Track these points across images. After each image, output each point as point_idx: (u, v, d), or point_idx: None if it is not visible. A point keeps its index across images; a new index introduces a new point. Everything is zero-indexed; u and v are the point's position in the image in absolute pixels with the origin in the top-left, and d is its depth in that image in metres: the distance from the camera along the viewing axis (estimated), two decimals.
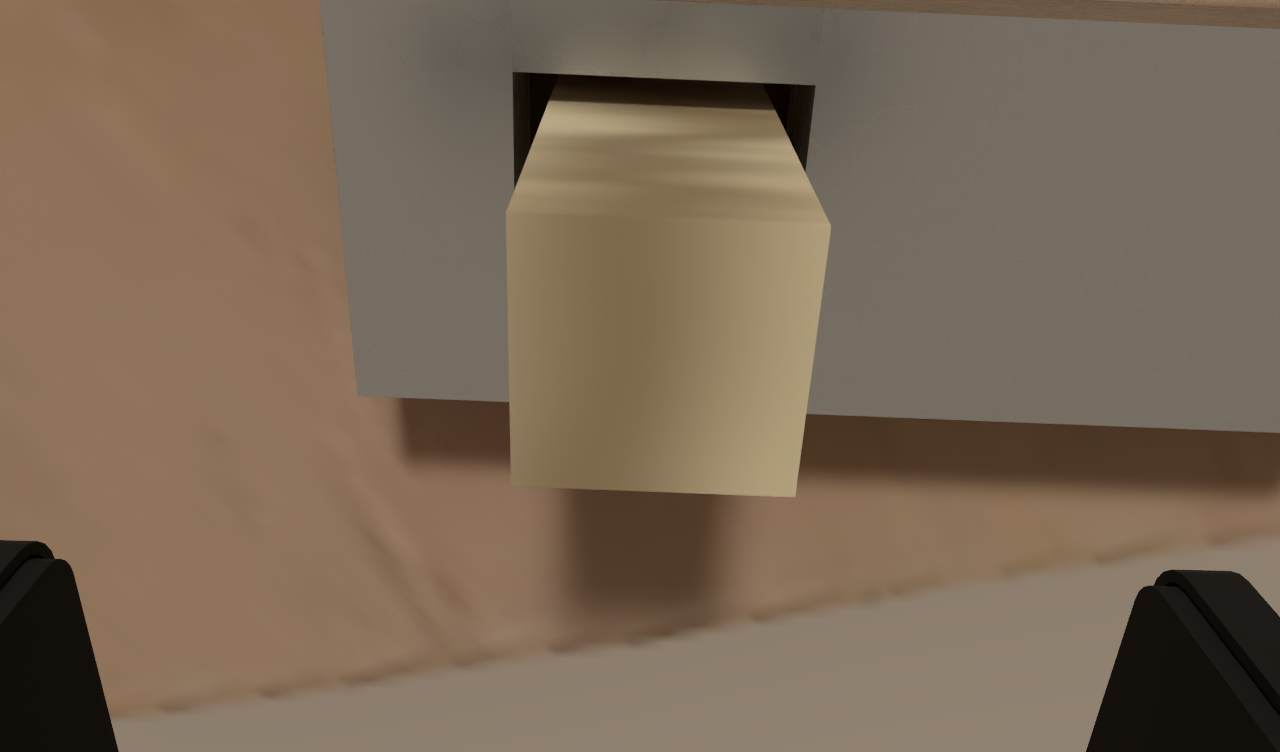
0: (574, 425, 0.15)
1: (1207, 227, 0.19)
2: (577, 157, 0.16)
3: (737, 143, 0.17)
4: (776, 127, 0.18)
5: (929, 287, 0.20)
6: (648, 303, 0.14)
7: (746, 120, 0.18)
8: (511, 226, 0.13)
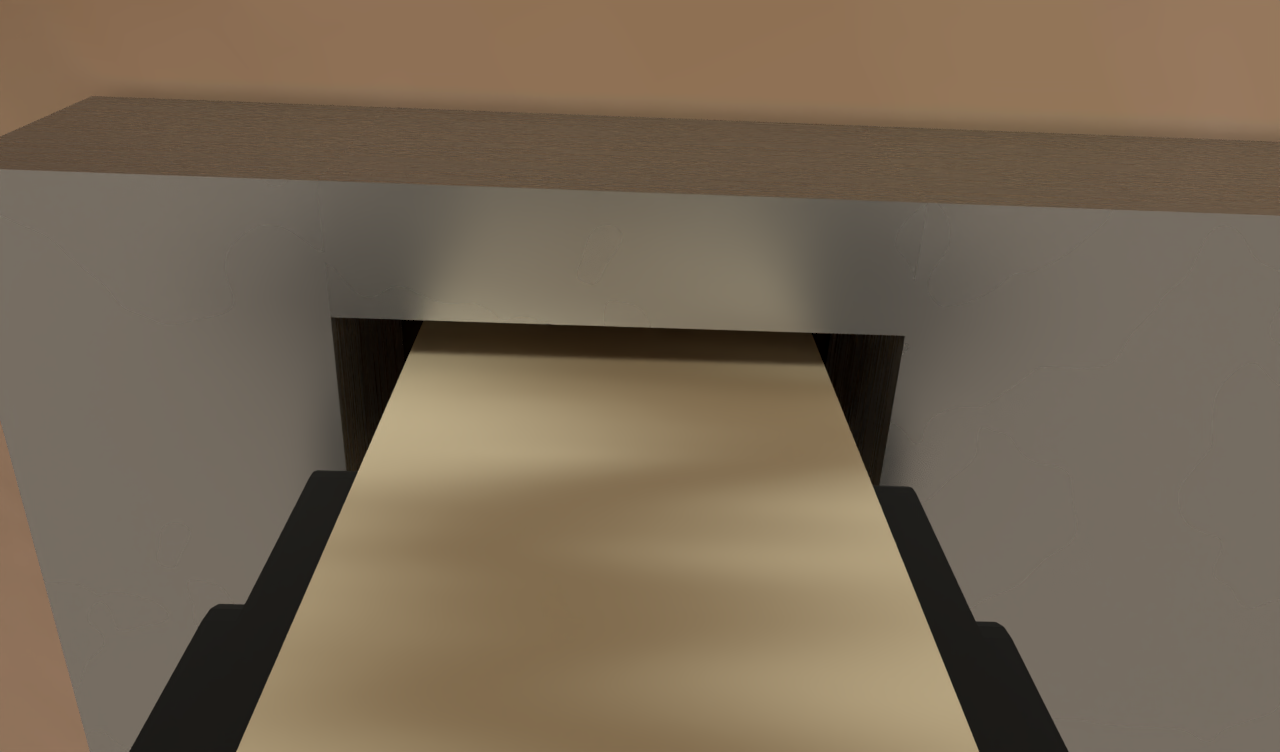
0: None
1: None
2: (418, 589, 0.07)
3: (766, 501, 0.08)
4: (835, 428, 0.09)
5: (1090, 649, 0.12)
6: None
7: (776, 405, 0.10)
8: None
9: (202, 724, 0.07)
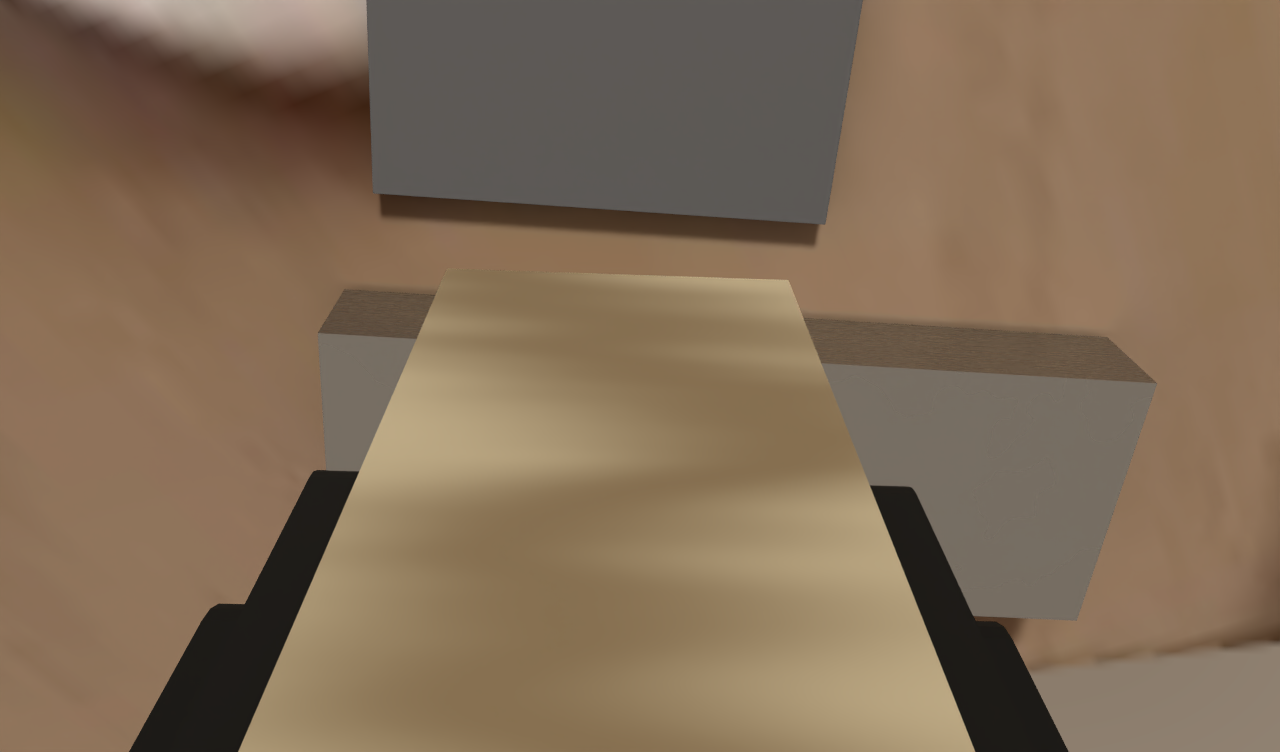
0: None
1: (925, 487, 0.29)
2: (417, 595, 0.07)
3: (766, 505, 0.08)
4: (835, 432, 0.09)
5: None
6: None
7: (776, 408, 0.10)
8: None
9: (202, 724, 0.07)
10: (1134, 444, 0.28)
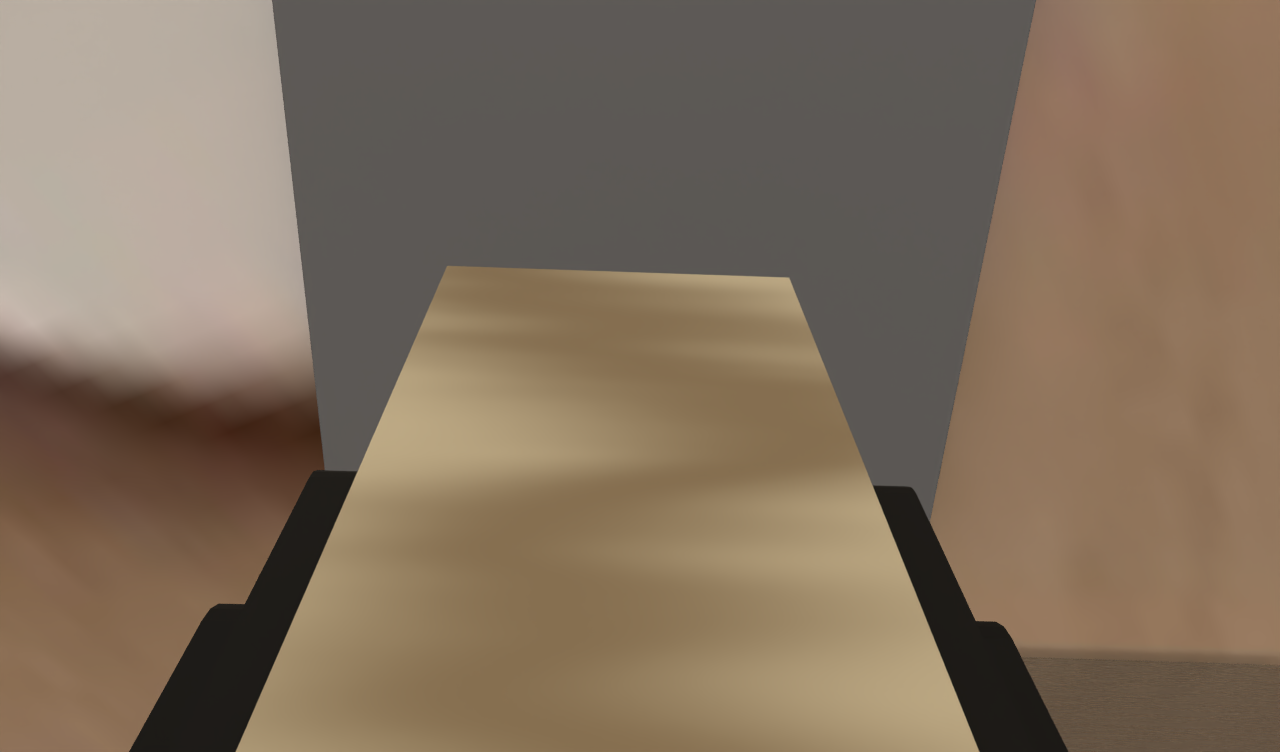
0: None
1: None
2: (418, 592, 0.07)
3: (767, 501, 0.08)
4: (836, 429, 0.09)
5: None
6: None
7: (776, 405, 0.10)
8: None
9: (202, 724, 0.07)
10: None
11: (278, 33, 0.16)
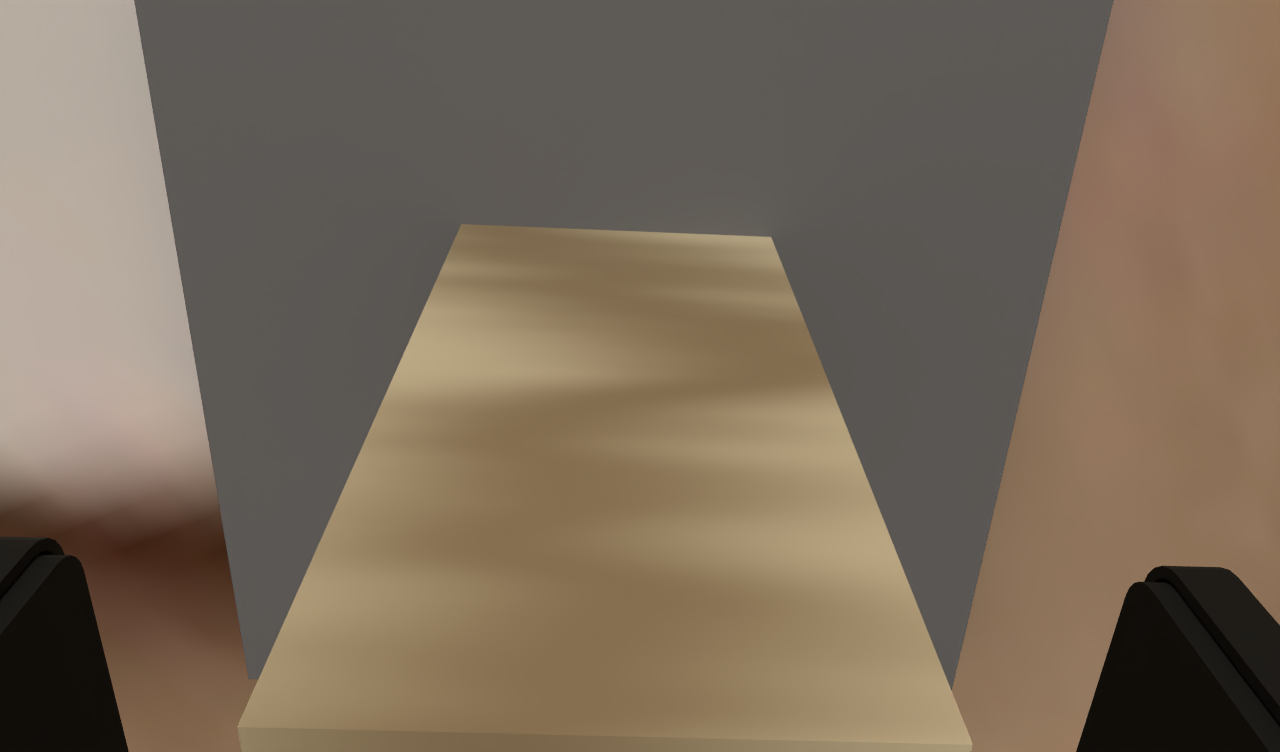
0: None
1: None
2: (446, 471, 0.08)
3: (743, 410, 0.09)
4: (806, 356, 0.11)
5: None
6: None
7: (755, 338, 0.11)
8: (254, 749, 0.06)
9: None
10: None
11: (153, 84, 0.13)
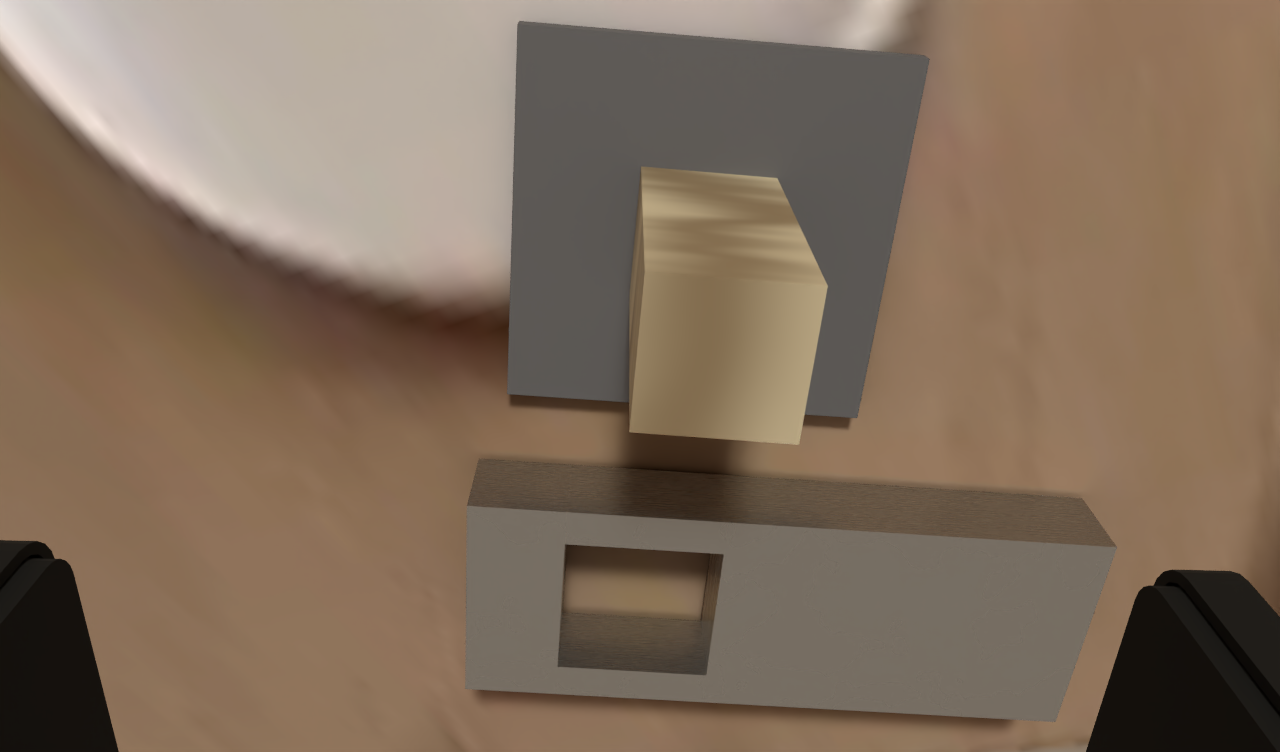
0: (671, 395, 0.25)
1: (933, 621, 0.36)
2: (673, 234, 0.26)
3: (767, 227, 0.27)
4: (790, 215, 0.28)
5: (786, 644, 0.37)
6: (721, 326, 0.24)
7: (771, 210, 0.28)
8: (646, 279, 0.23)
9: None
10: (1099, 591, 0.36)
11: (515, 99, 0.30)
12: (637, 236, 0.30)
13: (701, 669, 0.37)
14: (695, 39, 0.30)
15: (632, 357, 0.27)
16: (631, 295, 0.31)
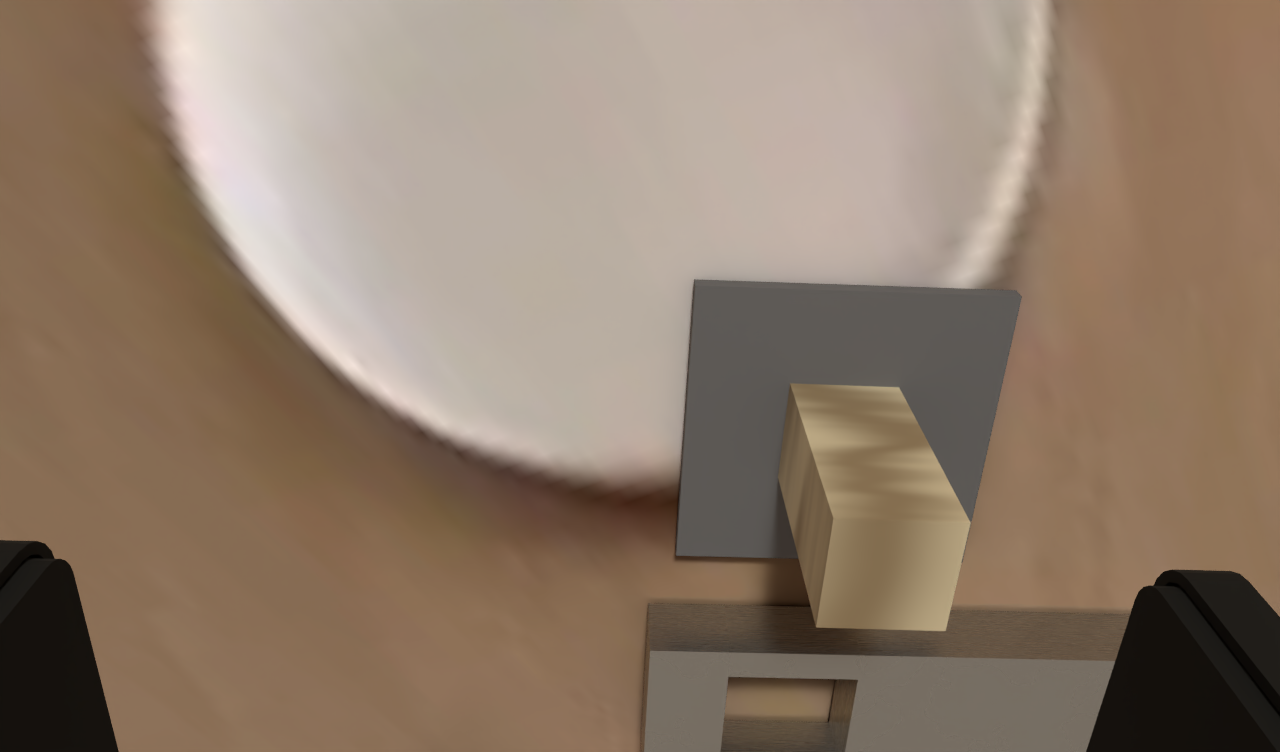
0: (849, 601, 0.32)
1: (1029, 724, 0.44)
2: (840, 470, 0.34)
3: (908, 454, 0.35)
4: (921, 437, 0.36)
5: (907, 747, 0.44)
6: (889, 552, 0.32)
7: (905, 430, 0.36)
8: (834, 523, 0.31)
9: None
10: None
11: (691, 338, 0.38)
12: (795, 447, 0.38)
13: None
14: (835, 291, 0.37)
15: (808, 561, 0.34)
16: (787, 487, 0.39)
